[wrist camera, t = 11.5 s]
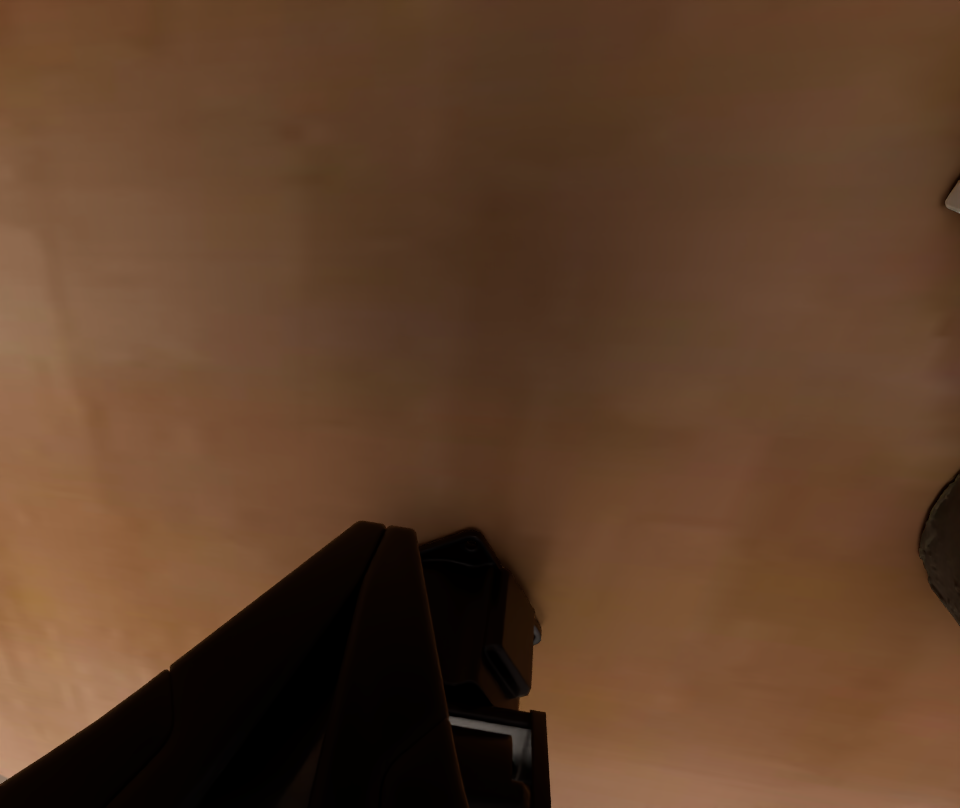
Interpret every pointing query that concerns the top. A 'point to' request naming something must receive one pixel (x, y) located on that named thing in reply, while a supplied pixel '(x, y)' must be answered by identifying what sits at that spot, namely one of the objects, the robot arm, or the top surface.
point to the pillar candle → (944, 548)
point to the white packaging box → (954, 199)
